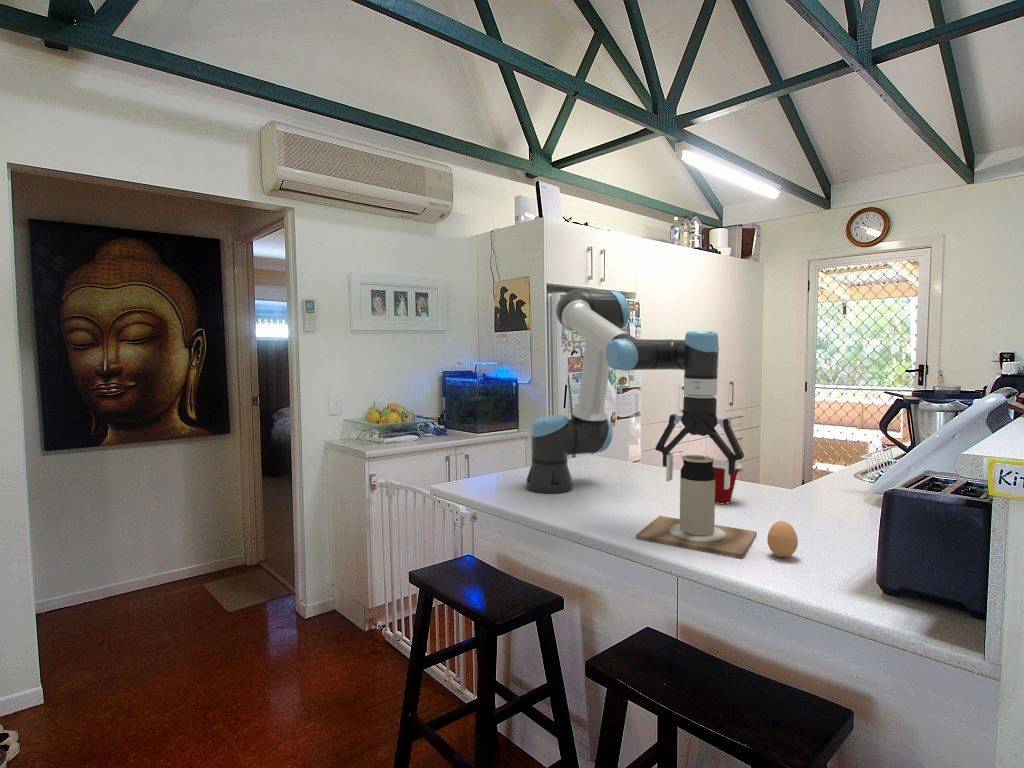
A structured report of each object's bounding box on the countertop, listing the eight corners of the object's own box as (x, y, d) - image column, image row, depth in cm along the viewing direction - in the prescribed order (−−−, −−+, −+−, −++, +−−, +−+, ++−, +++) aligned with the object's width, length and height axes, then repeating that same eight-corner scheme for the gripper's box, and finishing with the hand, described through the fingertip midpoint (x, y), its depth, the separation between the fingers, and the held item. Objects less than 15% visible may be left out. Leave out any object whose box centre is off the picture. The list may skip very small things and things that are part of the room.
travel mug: (678, 534, 133) (679, 459, 132) (680, 524, 140) (681, 453, 139) (714, 538, 130) (715, 461, 129) (714, 528, 138) (715, 455, 137)
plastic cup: (734, 509, 159) (735, 467, 158) (696, 502, 166) (697, 462, 165) (744, 500, 168) (745, 461, 167) (708, 495, 174) (709, 457, 174)
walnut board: (636, 538, 134) (636, 532, 134) (659, 519, 149) (659, 514, 149) (742, 558, 121) (743, 552, 121) (756, 535, 136) (756, 529, 136)
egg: (783, 563, 119) (784, 527, 118) (760, 554, 124) (761, 519, 124) (803, 559, 121) (804, 523, 121) (780, 550, 127) (781, 515, 126)
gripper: (643, 394, 137) (641, 480, 138) (753, 400, 123) (750, 495, 125) (653, 392, 143) (651, 474, 144) (759, 398, 130) (755, 488, 131)
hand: (697, 484), depth 135 cm, fingers open, 13 cm apart
